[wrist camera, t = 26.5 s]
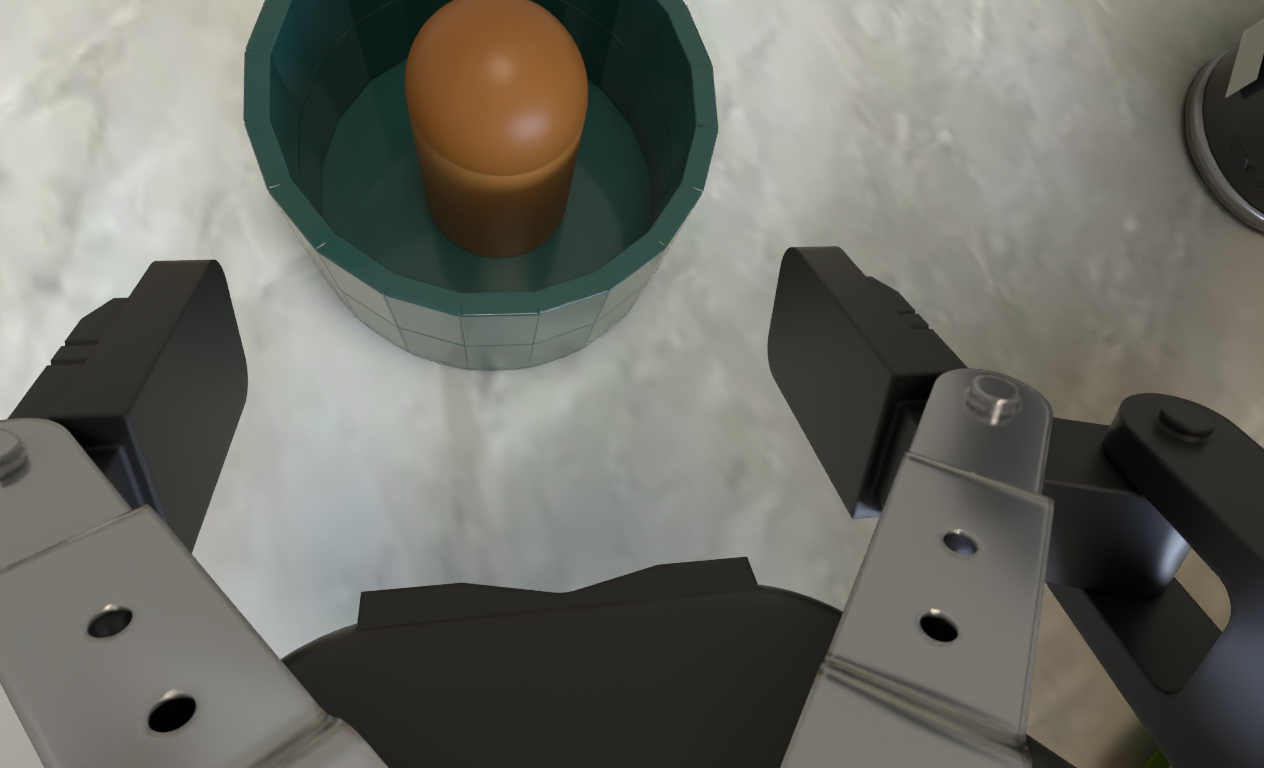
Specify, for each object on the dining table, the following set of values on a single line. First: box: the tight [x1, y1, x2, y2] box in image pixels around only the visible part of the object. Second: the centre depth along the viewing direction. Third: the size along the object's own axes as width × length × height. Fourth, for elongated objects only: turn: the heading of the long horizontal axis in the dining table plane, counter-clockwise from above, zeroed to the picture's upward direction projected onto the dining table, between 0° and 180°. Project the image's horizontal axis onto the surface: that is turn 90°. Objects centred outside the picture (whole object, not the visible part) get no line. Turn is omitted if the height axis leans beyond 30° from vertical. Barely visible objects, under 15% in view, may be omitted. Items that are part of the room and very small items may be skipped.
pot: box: [243, 0, 718, 371], centre depth 27 cm, size 13×13×8 cm
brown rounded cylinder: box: [405, 0, 588, 258], centre depth 26 cm, size 5×5×10 cm
